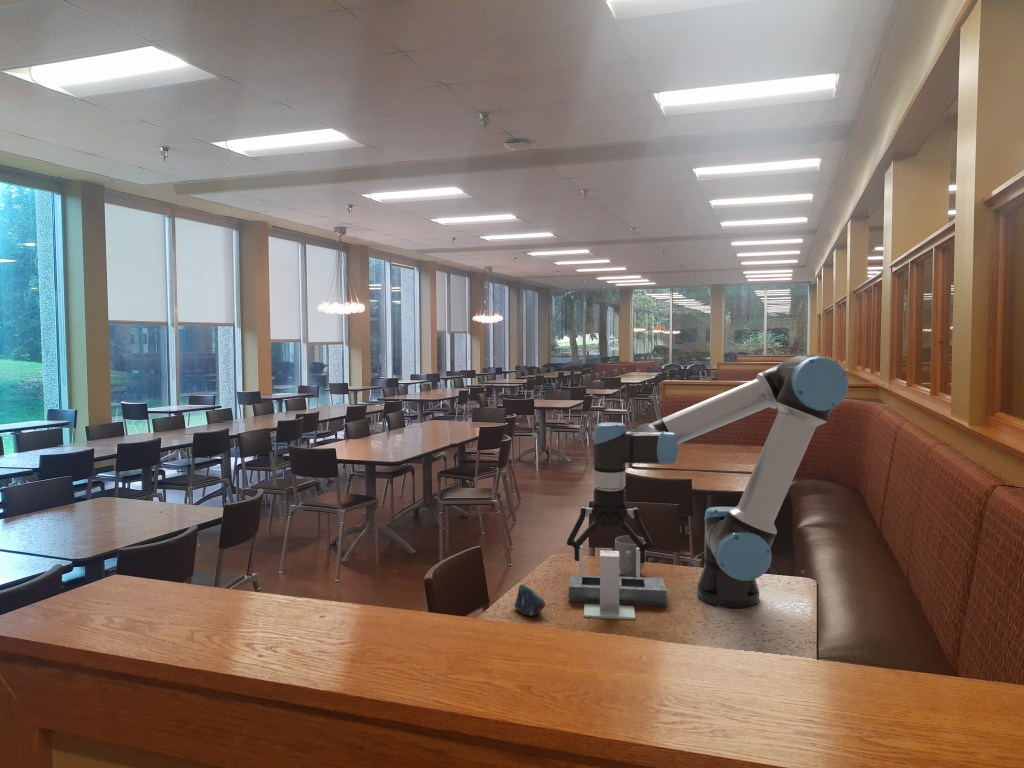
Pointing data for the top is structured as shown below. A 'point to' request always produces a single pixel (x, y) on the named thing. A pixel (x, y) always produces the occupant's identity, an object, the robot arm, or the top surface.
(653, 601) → the grey hollow block
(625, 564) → the mug
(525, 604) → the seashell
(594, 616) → the green pad
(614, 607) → the steel peg
